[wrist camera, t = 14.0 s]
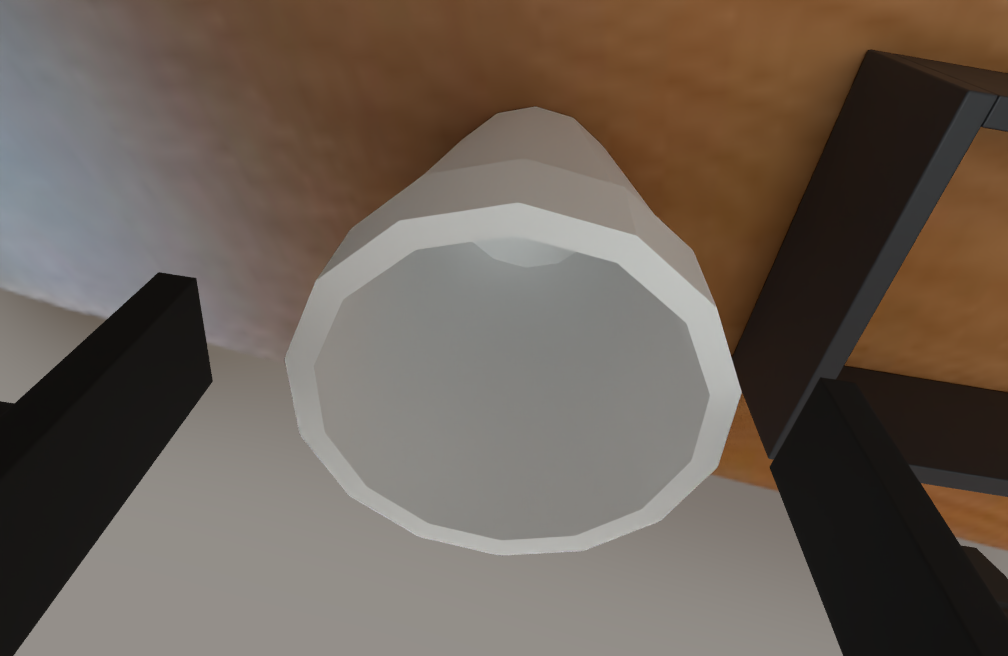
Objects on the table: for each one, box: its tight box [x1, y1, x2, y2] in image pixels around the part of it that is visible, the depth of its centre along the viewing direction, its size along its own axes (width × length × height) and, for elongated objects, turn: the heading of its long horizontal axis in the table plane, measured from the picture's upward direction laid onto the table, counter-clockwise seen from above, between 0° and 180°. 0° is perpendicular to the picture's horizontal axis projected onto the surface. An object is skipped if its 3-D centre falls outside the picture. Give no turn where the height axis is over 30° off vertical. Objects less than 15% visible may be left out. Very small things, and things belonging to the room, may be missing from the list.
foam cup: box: [284, 106, 742, 556], centre depth 18 cm, size 10×9×13 cm
